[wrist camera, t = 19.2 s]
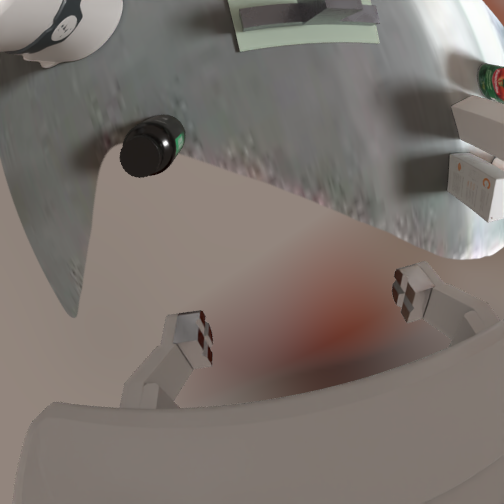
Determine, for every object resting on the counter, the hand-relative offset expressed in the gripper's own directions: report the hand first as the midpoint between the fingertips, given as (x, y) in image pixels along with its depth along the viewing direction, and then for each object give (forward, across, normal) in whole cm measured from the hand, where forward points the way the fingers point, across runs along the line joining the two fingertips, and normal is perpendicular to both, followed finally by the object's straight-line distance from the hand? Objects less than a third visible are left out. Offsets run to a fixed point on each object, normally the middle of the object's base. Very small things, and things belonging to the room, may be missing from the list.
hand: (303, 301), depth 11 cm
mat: (+33, -12, -17) cm, 39 cm away
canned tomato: (+33, -49, -9) cm, 60 cm away
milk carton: (+33, -41, -1) cm, 53 cm away
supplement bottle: (+33, +12, -3) cm, 36 cm away
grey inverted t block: (+33, -12, -17) cm, 39 cm away
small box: (+33, -40, +11) cm, 53 cm away
